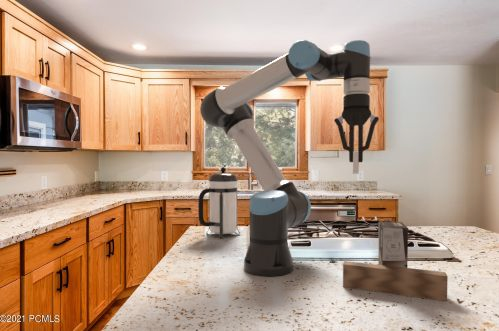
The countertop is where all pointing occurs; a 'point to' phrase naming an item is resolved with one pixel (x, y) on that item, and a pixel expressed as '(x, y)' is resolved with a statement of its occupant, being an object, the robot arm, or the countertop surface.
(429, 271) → the board
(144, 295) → the countertop surface
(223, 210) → the coffee press
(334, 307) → the countertop surface
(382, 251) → the coffee box
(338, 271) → the countertop surface
